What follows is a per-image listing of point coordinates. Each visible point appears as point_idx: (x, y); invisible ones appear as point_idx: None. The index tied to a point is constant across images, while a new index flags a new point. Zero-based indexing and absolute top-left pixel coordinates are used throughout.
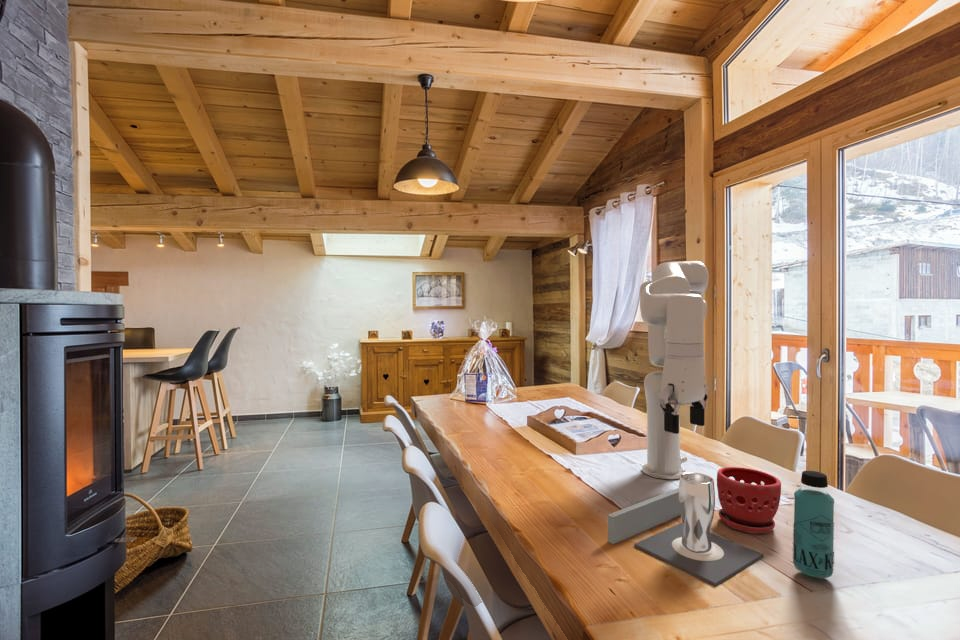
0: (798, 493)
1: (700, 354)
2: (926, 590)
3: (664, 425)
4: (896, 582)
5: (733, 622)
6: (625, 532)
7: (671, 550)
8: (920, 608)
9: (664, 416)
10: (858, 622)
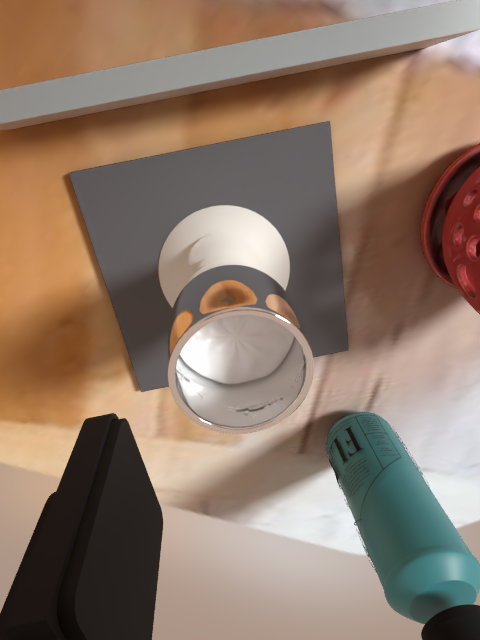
0: (405, 582)
1: None
2: (466, 504)
3: (72, 457)
4: (456, 480)
5: None
6: (64, 117)
7: (150, 251)
8: None
9: (30, 566)
10: (277, 518)
